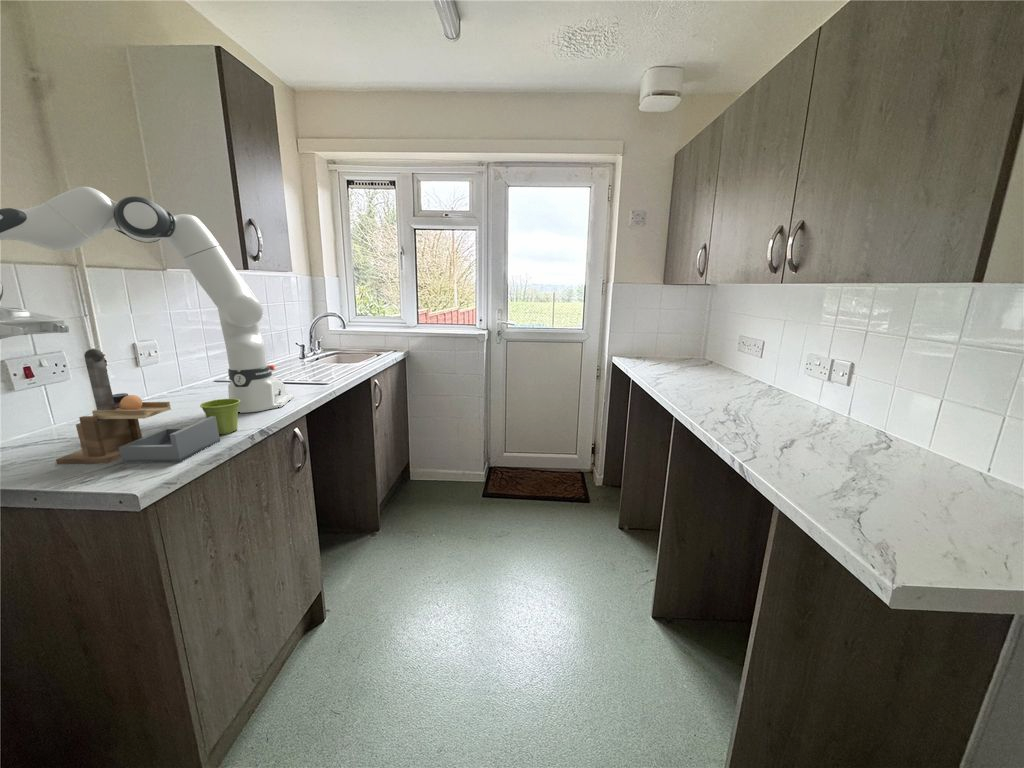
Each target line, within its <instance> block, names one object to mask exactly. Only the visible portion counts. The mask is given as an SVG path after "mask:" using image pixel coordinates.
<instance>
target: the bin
mask: <svg viewBox="0 0 1024 768" xmlns="http://www.w3.org/2000/svg"><path fill="white" fill-rule="evenodd" d="M217 442H218V443H219V442H221V439H220V434H219V433H218V427H217V421H216V416H211V417H209V418H207V417H206V418H204V419H202V420H200V421H197V422H195V423H193V424H191V425H188V426H185V427H164V428H162V429H159V430H157V431H155V432H152V433H150V434H148V435H145V436H142V438H140V439H137V440H135V441H133V442H130V443H128V444H125V445H123V446H120V447H119V451H120V456H121V458H120V459H121V463H122V464H148V463H149V464H154V463H155V464H156V463H157V464H158V463H182V462H184V461H185V459H186V460H188V459H190V458H191V457H193V456H195V455H197V454H199V453H200V451H201V450H203V451H205V450H206V449H208V448H210V447H211V445H212V446H214V445H216V444H217ZM215 443H216V444H215ZM213 444H214V445H213ZM207 447H208V448H207ZM205 448H206V449H205ZM198 452H199V453H198ZM201 452H202V451H201ZM196 453H197V454H196ZM194 454H195V455H194ZM192 455H193V456H192ZM189 457H190V458H189ZM187 458H188V459H187ZM183 460H184V461H183Z"/></svg>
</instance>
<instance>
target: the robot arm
mask: <svg viewBox="0 0 1024 768" xmlns="http://www.w3.org/2000/svg"><path fill="white" fill-rule="evenodd" d="M110 230H115V231H116V232H118V233H120V234H123V235H125V236H127V237H128V238H130V239H132V240H134V241H136V242H140V243H147V244H151V243H156V242H158V241H160V240H162V241H165V242H167V243H168V244H170V245H171V246H172V247H173V248H174V249H175V251H176V253H178V255H179V256H180V259H182V261H183V263H184V264H185V265H186V267H187V268H188V270H189V271H190V272H191V274H192V275H193V277H194V278H195V280H196V281H197V282H198V284H199V285H200V286H201V288H202V289H203V291H205V293H206V294H207V295H208V297H209V299H211V301H212V302H213V304H214V305H215V306H216V307H217V312H218V318H219V322H220V326H221V327H220V328H221V331H222V335H223V339H224V343H225V344H224V345H225V349H226V356H227V361H228V367H229V368H228V369H227V371H228V372H227V375H228V377H229V380H230V383H228V385H227V388H228V389H227V391H228V399H239V400H240V403H239V407H238V412H240V413H246V414H247V413H254V412H255V413H256V412H262V411H267V410H271V409H278V407H279V408H283V407H284V406H285V405H286V404H288V403H289V402H290V401H291V400H293V398H294V394H292V393H291V394H290V393H286V392H287V391H286V386H285V384H284V382H282V381H281V380H279V379H278V378H276V377H275V376H273V372H272V371H275V369H276V366H275V365H274V364H268V360H267V352H266V351H267V350H266V347H265V345H266V344H265V340H264V337H263V334H262V330H261V326H260V321H261V320H262V317H263V314H264V308H263V306H262V304H261V302H260V301H259V299H258V297H257V296H256V295H255V294H254V292H253V291H252V289H251V287H249V285H248V284H247V282H246V281H245V280H244V278H243V277H242V276H241V274H240V273H239V272H238V270H237V269H236V268H235V267H234V265H233V263H232V261H231V260H230V258H229V257H228V255H227V254H226V252H225V251H224V249H223V248H222V246H221V245H220V243H219V242H218V240H217V239H216V238H215V236H214V235H213V234H212V231H210V230H209V228H207V226H206V224H204V223H203V222H202V220H201V219H199V218H198V217H197V216H195V215H192V214H188V213H187V214H185V213H181V214H176V215H174V214H173V213H171V212H170V211H168V210H167V209H165V208H163V207H162V206H160V205H159V204H158V203H156V202H155V201H152V200H150V199H148V198H145V197H142V196H137V195H136V196H133V195H132V196H126V197H124V198H122V199H119V201H114V200H113V199H111V198H110V197H109V196H107V195H106V194H105V193H103V192H102V191H100V190H98V189H96V188H94V187H90V186H79V187H76V188H73V189H71V190H67V191H65V192H62V193H60V194H58V195H56V196H54V197H52V198H50V199H48V200H46V201H45V202H43V203H41V204H39V205H36V206H33V207H28V208H24V209H23V208H22V209H16V208H13V207H12V208H11V207H3V208H0V241H3V240H4V241H5V240H8V241H9V240H11V241H19V242H24V243H27V244H31V245H34V246H37V247H39V248H44V249H47V250H52V251H59V252H60V251H61V252H67V251H73V250H76V249H78V248H81V247H82V246H84V245H86V244H87V243H88V242H90V241H92V240H93V239H95V238H96V237H97V236H99V235H101V234H102V233H104V232H106V231H110ZM3 295H4V286H3V284H2V282H1V281H0V302H1V300H2V299H3ZM69 332H70V328H69V326H68V325H66V324H65V320H64V319H63V318H61V317H57V316H52V315H49V314H48V315H47V314H42V313H38V312H37V313H36V312H29V310H28V309H25V308H16V307H4V306H1V305H0V340H2V339H7V338H11V337H16V336H17V337H18V336H28V335H41V334H42V335H43V334H67V333H69ZM289 400H290V401H289ZM288 401H289V402H288ZM283 405H284V406H283ZM282 406H283V407H282Z"/></svg>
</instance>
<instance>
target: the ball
mask: <svg viewBox="0 0 1024 768" xmlns="http://www.w3.org/2000/svg"><path fill="white" fill-rule="evenodd" d="M142 402H143V400H142V398H141V397H140V396H138V395H135V394H128V396H125V397H124V398H123V399H122V400H121V402H120V405H121V407H122V408H123V409H124V410H138V409H139V408H141V406H142Z"/></svg>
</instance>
